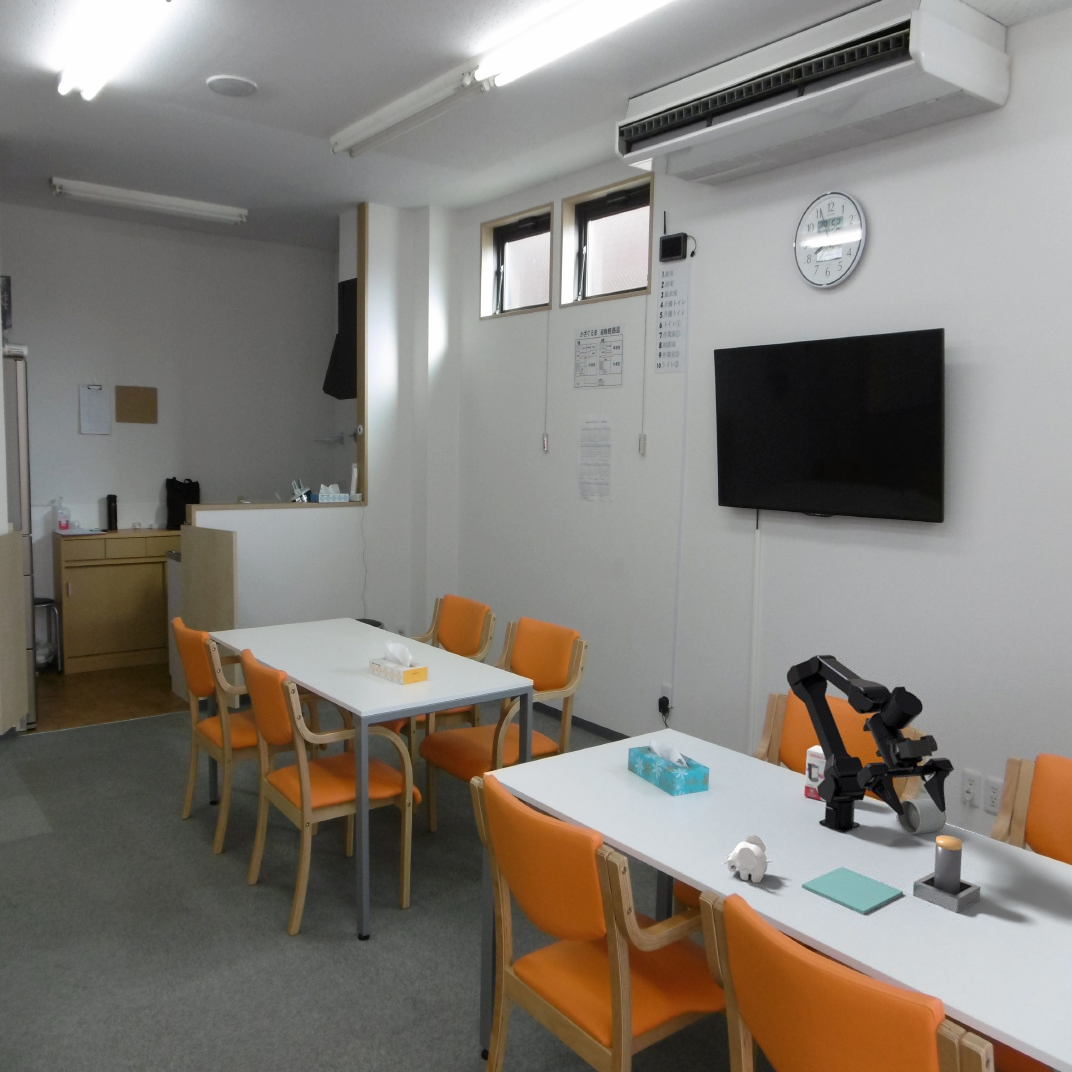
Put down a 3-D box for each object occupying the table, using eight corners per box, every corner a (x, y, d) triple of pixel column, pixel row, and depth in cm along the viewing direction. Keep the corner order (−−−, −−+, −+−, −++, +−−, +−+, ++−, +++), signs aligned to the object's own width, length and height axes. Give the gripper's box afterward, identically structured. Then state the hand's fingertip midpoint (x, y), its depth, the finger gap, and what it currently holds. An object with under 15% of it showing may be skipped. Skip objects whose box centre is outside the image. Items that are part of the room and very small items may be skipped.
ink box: (803, 796, 220) (805, 749, 219) (811, 791, 224) (813, 744, 223) (838, 805, 215) (840, 757, 214) (846, 800, 218) (848, 752, 218)
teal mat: (841, 869, 180) (841, 866, 180) (902, 894, 170) (902, 891, 170) (801, 887, 172) (802, 884, 172) (863, 914, 162) (863, 911, 162)
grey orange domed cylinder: (940, 889, 172) (943, 833, 171) (963, 898, 168) (966, 841, 168) (928, 896, 169) (931, 839, 168) (951, 905, 166) (954, 847, 165)
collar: (936, 883, 175) (936, 870, 174) (979, 899, 168) (980, 886, 168) (913, 895, 170) (913, 882, 169) (956, 912, 163) (957, 899, 163)
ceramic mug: (948, 835, 198) (949, 802, 198) (919, 839, 195) (921, 806, 195) (913, 819, 208) (914, 787, 207) (886, 823, 205) (887, 791, 204)
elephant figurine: (727, 863, 182) (728, 828, 182) (775, 873, 178) (776, 837, 178) (717, 878, 175) (718, 842, 175) (767, 889, 171) (769, 852, 171)
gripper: (867, 723, 177) (900, 798, 167) (949, 718, 181) (987, 791, 171) (843, 750, 185) (873, 823, 175) (922, 745, 190) (956, 816, 180)
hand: (923, 813), depth 175 cm, fingers open, 9 cm apart
